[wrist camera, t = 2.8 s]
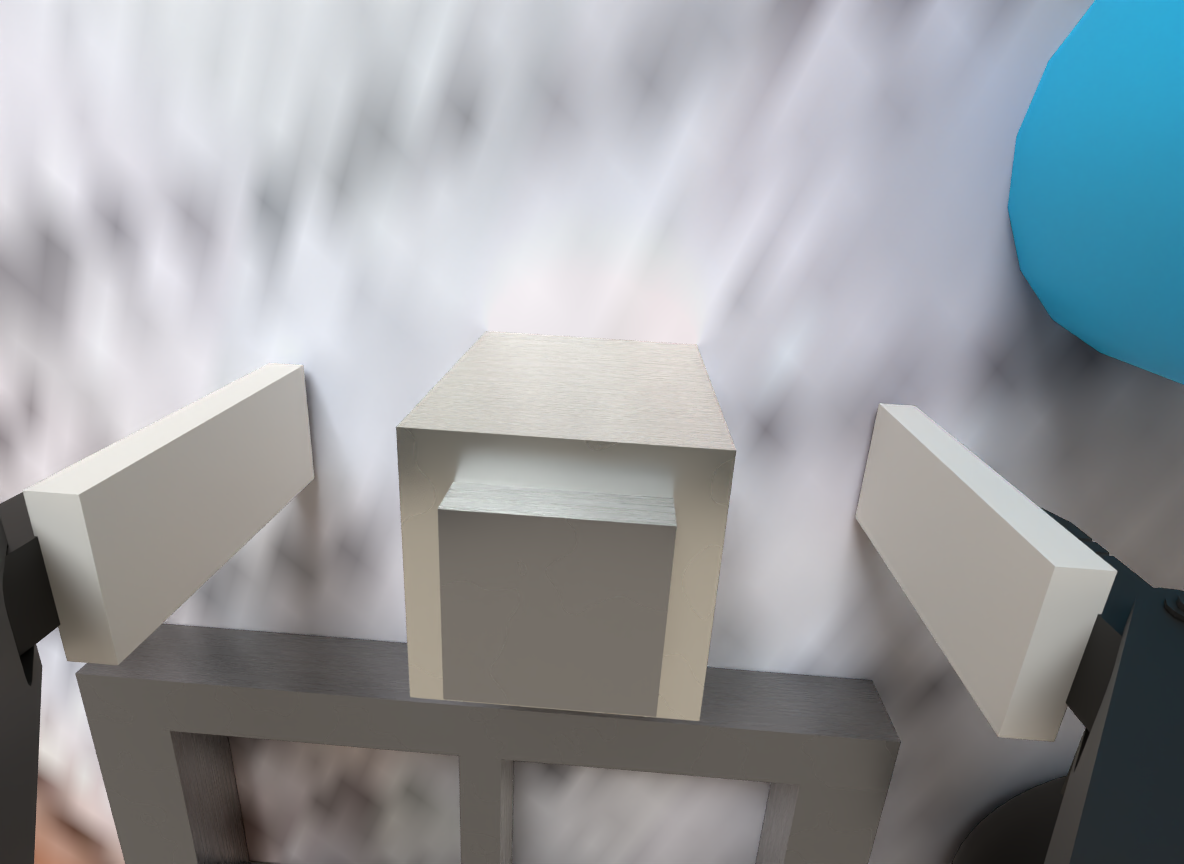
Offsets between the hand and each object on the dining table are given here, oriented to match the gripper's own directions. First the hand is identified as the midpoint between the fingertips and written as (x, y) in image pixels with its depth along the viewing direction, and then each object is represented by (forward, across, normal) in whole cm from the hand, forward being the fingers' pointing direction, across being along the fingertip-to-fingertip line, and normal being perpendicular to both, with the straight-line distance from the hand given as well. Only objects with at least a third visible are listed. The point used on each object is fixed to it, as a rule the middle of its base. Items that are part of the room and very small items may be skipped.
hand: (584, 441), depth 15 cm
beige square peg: (0, 0, 0) cm, 0 cm away
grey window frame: (0, -2, -11) cm, 11 cm away
